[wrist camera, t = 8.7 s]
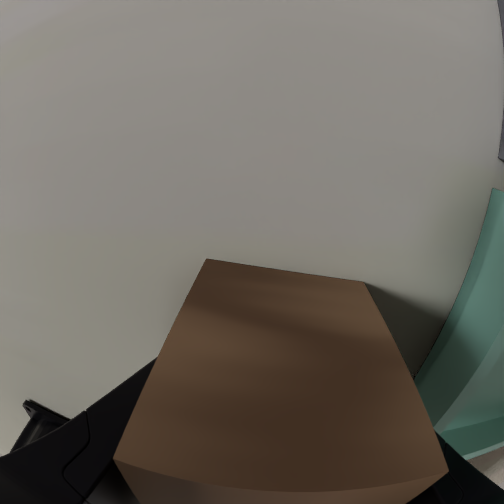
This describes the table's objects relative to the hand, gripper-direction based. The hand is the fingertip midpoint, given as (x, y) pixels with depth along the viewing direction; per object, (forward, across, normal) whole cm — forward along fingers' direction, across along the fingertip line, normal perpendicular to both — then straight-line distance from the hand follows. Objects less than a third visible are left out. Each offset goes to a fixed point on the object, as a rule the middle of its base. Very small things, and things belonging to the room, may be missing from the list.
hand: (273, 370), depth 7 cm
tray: (+2, -12, 0) cm, 12 cm away
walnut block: (+2, 0, 0) cm, 2 cm away
